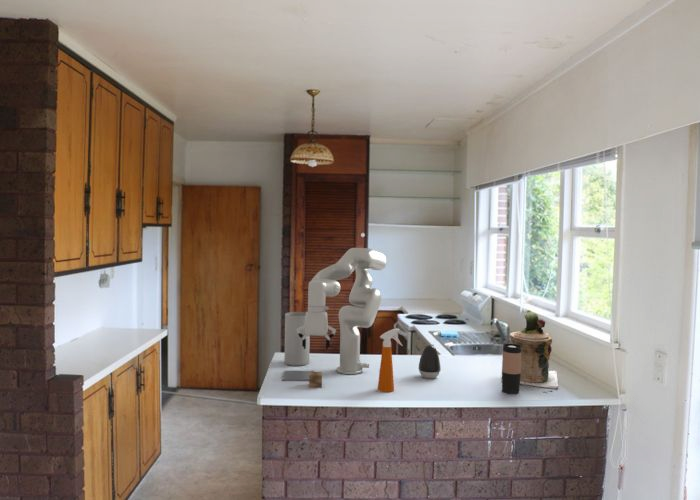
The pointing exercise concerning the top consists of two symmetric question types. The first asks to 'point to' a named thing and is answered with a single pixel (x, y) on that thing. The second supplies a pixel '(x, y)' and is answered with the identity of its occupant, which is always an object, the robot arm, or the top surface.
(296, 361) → the cylinder vase
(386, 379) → the spray bottle
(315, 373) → the walnut block
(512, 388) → the travel mug
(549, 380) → the cookie jar
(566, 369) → the top surface
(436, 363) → the black egg ornament
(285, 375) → the slate coaster
